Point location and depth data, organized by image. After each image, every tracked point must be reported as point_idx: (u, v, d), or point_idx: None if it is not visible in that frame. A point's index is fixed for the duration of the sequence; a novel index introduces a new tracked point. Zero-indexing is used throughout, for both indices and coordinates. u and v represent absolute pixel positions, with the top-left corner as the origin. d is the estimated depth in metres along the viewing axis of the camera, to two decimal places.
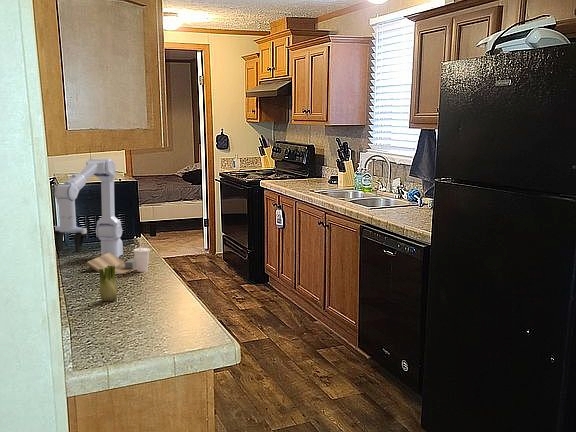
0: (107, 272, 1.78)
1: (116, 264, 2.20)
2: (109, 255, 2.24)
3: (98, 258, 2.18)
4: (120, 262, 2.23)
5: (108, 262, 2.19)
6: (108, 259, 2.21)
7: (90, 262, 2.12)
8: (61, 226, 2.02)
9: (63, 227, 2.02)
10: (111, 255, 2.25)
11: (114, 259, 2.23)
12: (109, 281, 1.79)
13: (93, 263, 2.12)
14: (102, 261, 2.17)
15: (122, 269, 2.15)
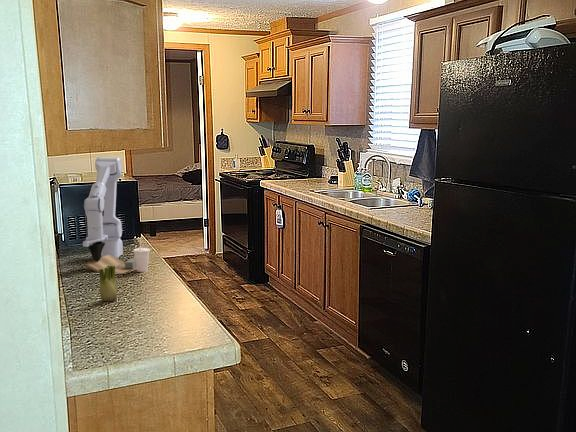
0: (107, 272, 1.78)
1: (116, 264, 2.20)
2: (108, 257, 2.24)
3: None
4: (120, 262, 2.23)
5: (108, 263, 2.19)
6: (107, 260, 2.21)
7: (89, 264, 2.12)
8: None
9: None
10: (110, 256, 2.25)
11: (114, 260, 2.24)
12: (109, 281, 1.79)
13: (93, 265, 2.12)
14: (102, 262, 2.17)
15: (122, 269, 2.15)
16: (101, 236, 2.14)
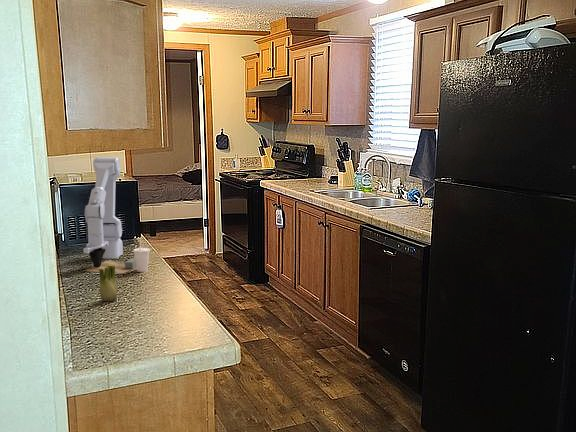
0: (107, 272, 1.78)
1: (116, 265, 2.20)
2: (108, 261, 2.25)
3: None
4: (120, 263, 2.24)
5: None
6: (107, 264, 2.21)
7: (89, 269, 2.13)
8: None
9: None
10: (110, 261, 2.26)
11: (113, 262, 2.24)
12: (109, 281, 1.79)
13: (92, 269, 2.13)
14: (101, 266, 2.18)
15: (122, 269, 2.15)
16: (102, 243, 2.15)
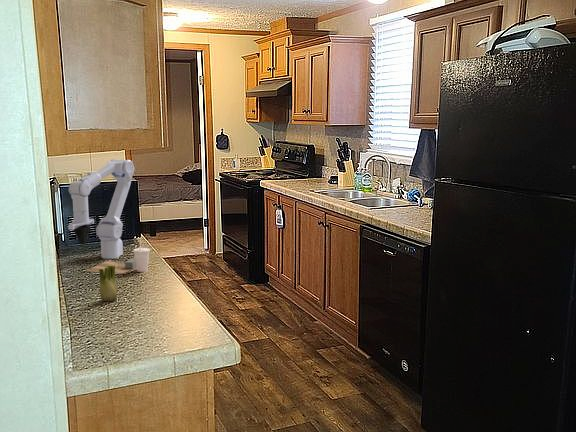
0: (107, 272, 1.78)
1: (116, 265, 2.20)
2: (108, 262, 2.25)
3: (97, 266, 2.18)
4: (120, 263, 2.24)
5: None
6: (107, 264, 2.21)
7: (89, 270, 2.13)
8: None
9: None
10: (110, 261, 2.26)
11: (113, 263, 2.24)
12: (109, 281, 1.79)
13: (92, 270, 2.13)
14: (101, 267, 2.18)
15: (122, 269, 2.15)
16: (87, 219, 2.17)
